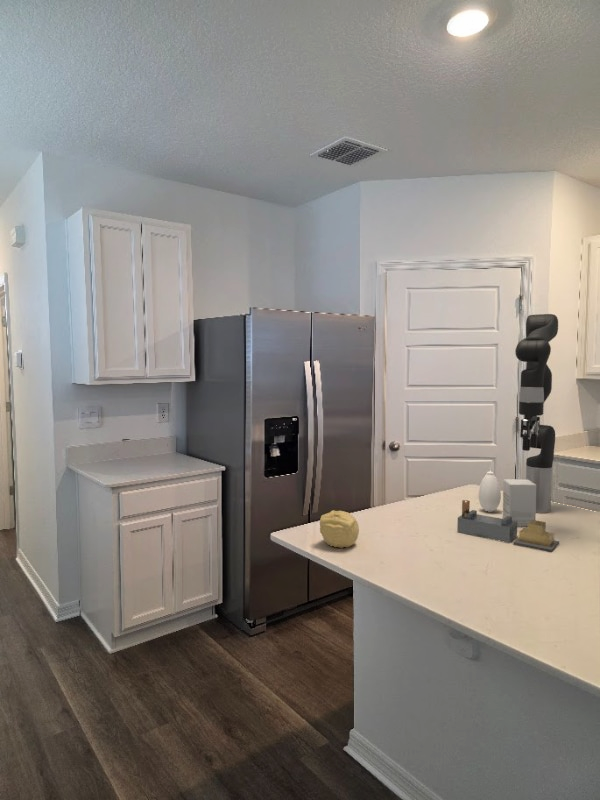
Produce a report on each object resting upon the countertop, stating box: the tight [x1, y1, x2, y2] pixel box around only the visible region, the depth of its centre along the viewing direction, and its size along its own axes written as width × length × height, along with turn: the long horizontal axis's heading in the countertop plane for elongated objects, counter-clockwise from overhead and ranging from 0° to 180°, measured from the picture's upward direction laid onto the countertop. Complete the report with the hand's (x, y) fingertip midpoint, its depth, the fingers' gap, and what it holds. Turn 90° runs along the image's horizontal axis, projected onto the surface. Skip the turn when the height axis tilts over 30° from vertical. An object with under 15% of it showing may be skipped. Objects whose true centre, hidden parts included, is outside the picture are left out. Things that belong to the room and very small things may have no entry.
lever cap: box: [518, 520, 555, 547], centre depth 166 cm, size 5×9×6 cm, turn 52°
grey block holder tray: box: [456, 499, 518, 544], centre depth 175 cm, size 8×17×10 cm, turn 52°
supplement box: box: [502, 478, 537, 527], centre depth 188 cm, size 9×9×15 cm
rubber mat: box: [512, 537, 560, 553], centre depth 166 cm, size 10×11×1 cm
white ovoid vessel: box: [478, 464, 502, 513], centre depth 202 cm, size 8×8×18 cm
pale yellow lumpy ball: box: [319, 510, 360, 549], centre depth 164 cm, size 12×12×11 cm
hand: (529, 448), depth 177 cm, fingers open, 8 cm apart
